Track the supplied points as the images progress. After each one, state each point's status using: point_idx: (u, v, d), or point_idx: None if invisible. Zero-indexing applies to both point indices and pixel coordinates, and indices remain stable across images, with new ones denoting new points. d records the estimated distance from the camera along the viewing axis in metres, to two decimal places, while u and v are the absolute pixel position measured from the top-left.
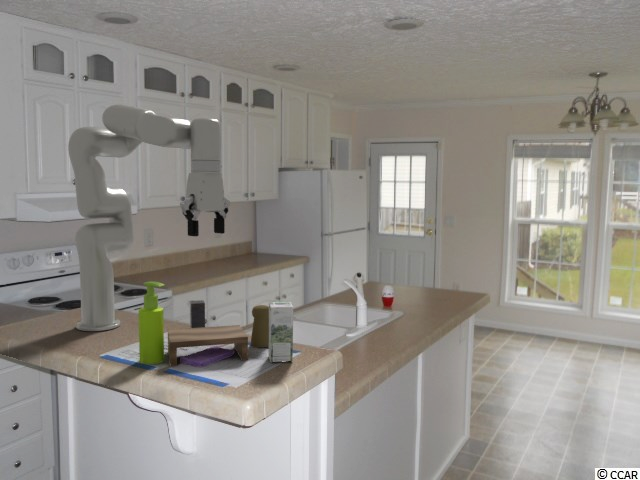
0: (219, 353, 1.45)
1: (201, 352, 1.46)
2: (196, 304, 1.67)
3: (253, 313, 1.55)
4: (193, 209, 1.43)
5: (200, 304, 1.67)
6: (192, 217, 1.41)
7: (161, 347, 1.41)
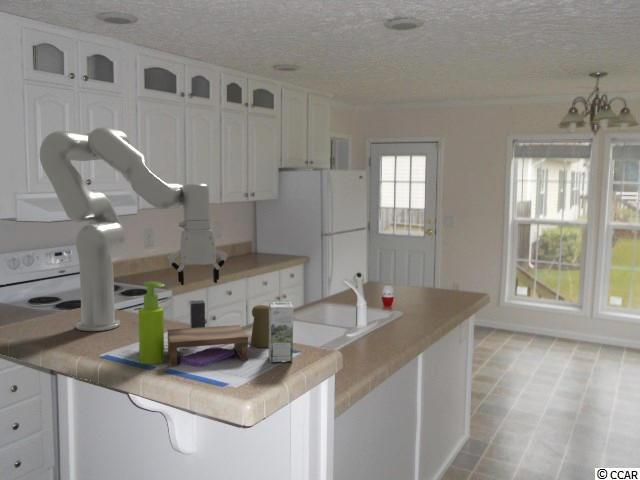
0: (219, 353, 1.45)
1: (201, 352, 1.46)
2: (196, 304, 1.67)
3: (253, 313, 1.55)
4: None
5: (200, 304, 1.67)
6: None
7: (161, 347, 1.41)
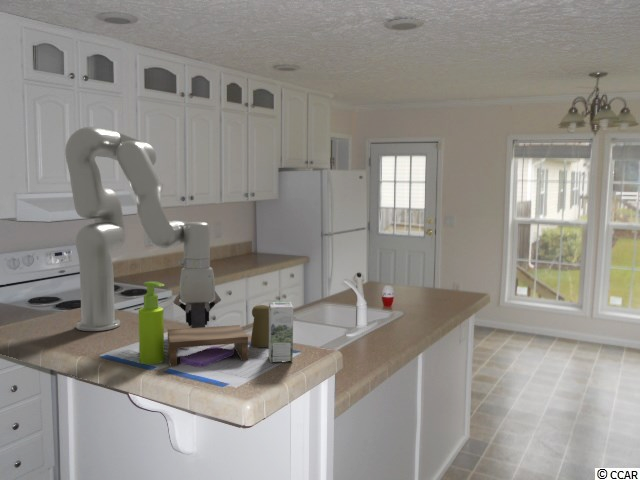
0: (219, 353, 1.45)
1: (201, 352, 1.46)
2: (196, 304, 1.67)
3: (253, 313, 1.55)
4: None
5: (200, 304, 1.67)
6: None
7: (161, 347, 1.41)
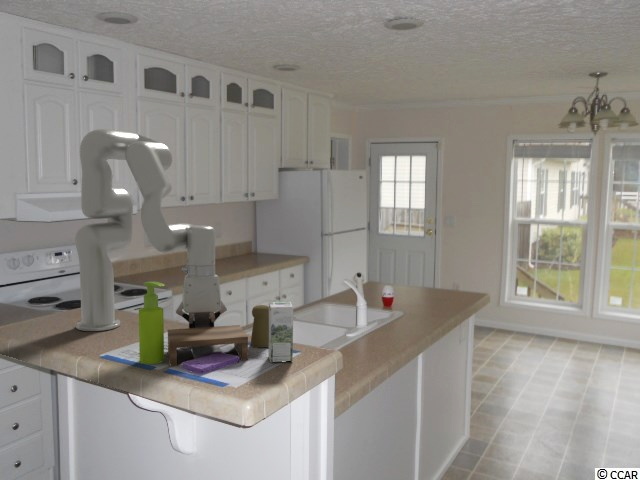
0: (222, 359, 1.40)
1: (204, 358, 1.41)
2: (200, 313, 1.56)
3: (253, 313, 1.55)
4: None
5: (204, 313, 1.56)
6: None
7: (161, 347, 1.41)
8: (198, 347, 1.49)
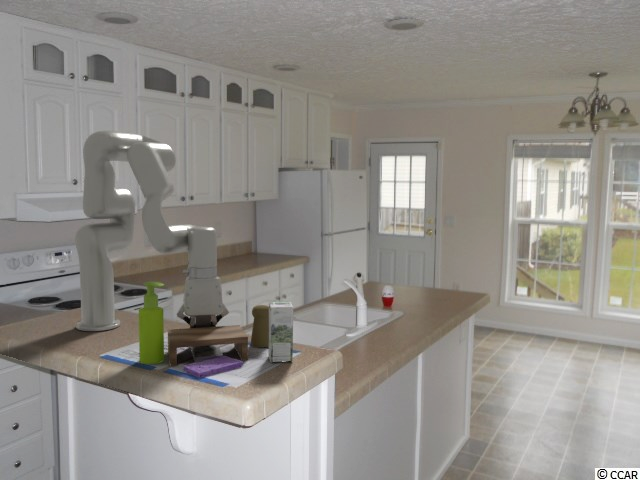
0: (225, 364, 1.37)
1: (208, 361, 1.39)
2: (201, 316, 1.53)
3: (253, 313, 1.55)
4: None
5: (206, 316, 1.53)
6: None
7: (161, 347, 1.41)
8: (199, 351, 1.46)
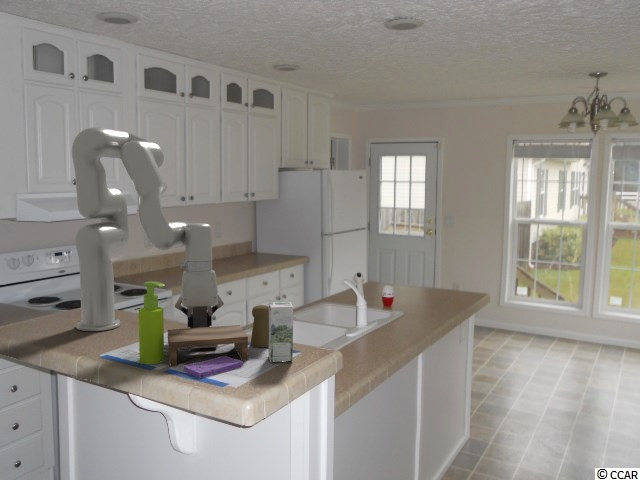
0: (225, 364, 1.37)
1: (208, 361, 1.38)
2: (198, 307, 1.62)
3: (253, 313, 1.55)
4: None
5: (202, 307, 1.63)
6: None
7: (161, 347, 1.41)
8: None
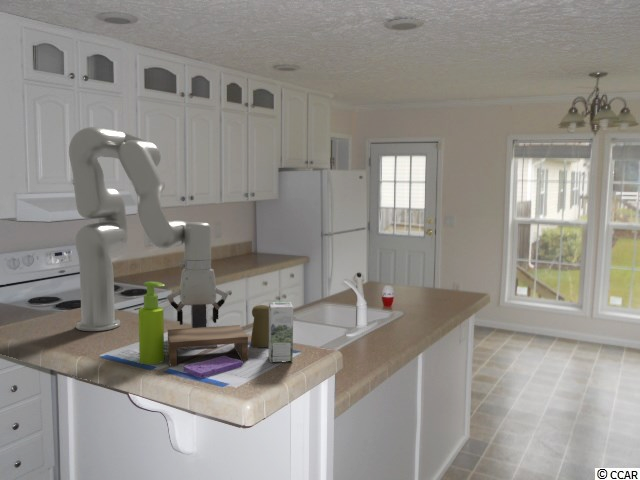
0: (225, 364, 1.37)
1: (207, 361, 1.38)
2: (197, 306, 1.64)
3: (253, 313, 1.55)
4: None
5: (201, 306, 1.64)
6: None
7: (161, 347, 1.41)
8: None
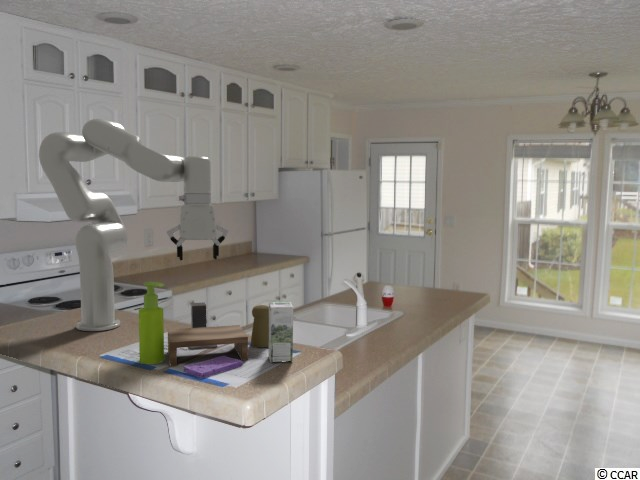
0: (225, 363, 1.37)
1: (207, 361, 1.38)
2: (197, 306, 1.64)
3: (253, 313, 1.55)
4: None
5: (201, 306, 1.64)
6: None
7: (161, 347, 1.41)
8: None
